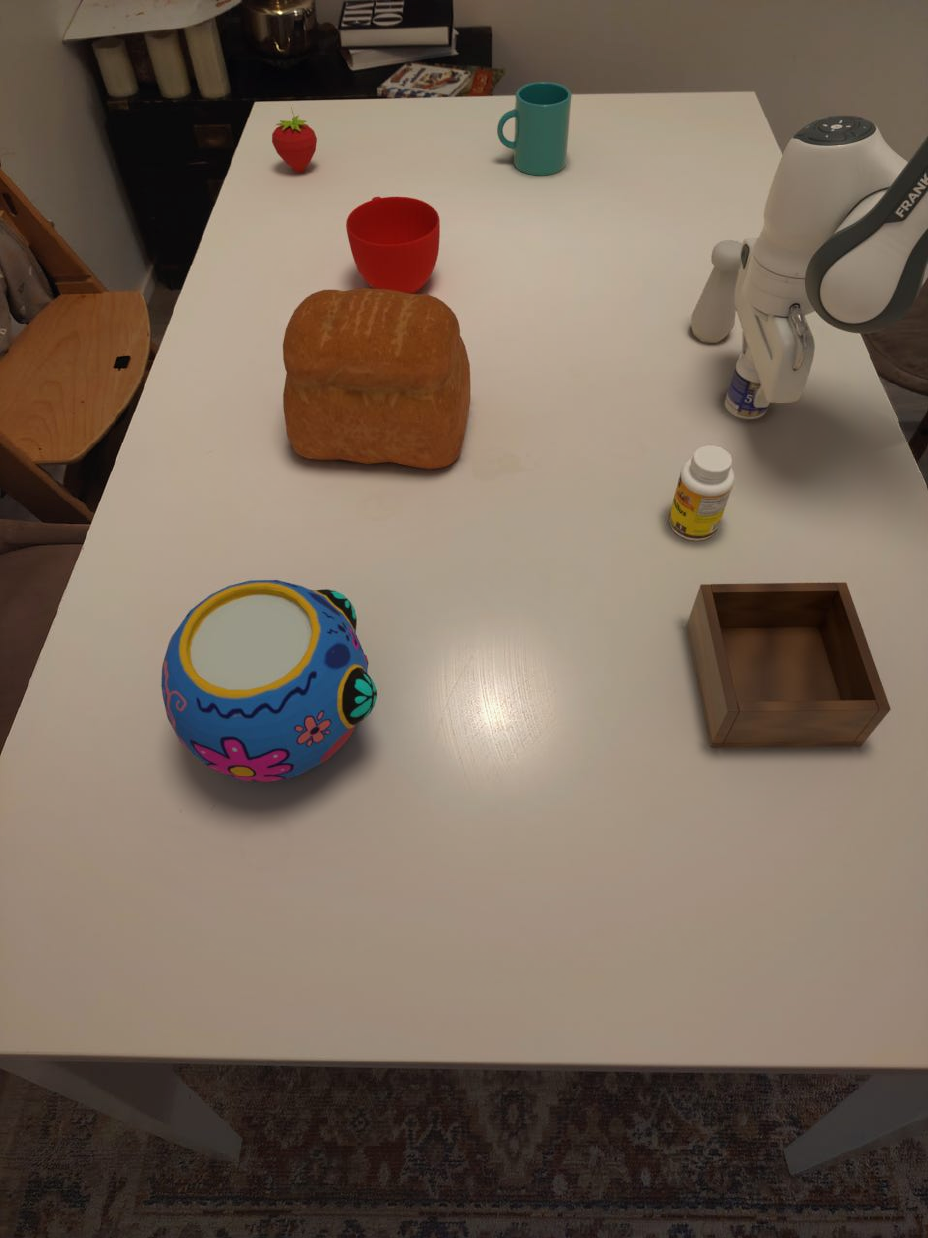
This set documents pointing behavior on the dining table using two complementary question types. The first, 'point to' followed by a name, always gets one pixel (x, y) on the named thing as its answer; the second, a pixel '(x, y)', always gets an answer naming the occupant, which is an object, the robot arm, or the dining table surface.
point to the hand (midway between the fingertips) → (752, 383)
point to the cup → (539, 128)
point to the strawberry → (295, 143)
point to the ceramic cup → (394, 242)
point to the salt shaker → (718, 295)
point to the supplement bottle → (702, 493)
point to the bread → (376, 378)
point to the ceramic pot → (267, 679)
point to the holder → (784, 666)
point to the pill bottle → (744, 389)
